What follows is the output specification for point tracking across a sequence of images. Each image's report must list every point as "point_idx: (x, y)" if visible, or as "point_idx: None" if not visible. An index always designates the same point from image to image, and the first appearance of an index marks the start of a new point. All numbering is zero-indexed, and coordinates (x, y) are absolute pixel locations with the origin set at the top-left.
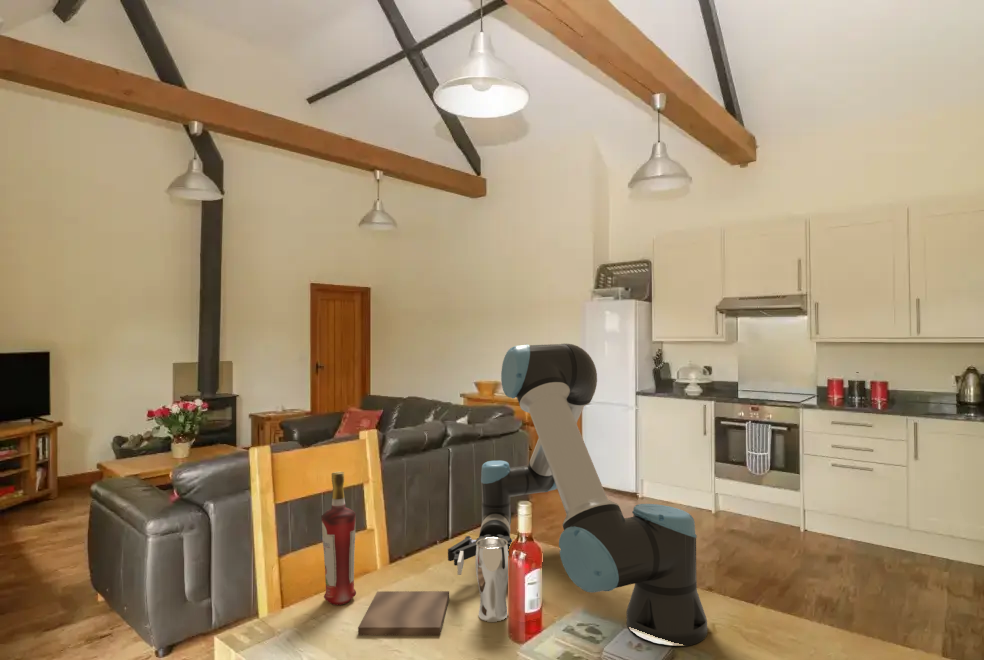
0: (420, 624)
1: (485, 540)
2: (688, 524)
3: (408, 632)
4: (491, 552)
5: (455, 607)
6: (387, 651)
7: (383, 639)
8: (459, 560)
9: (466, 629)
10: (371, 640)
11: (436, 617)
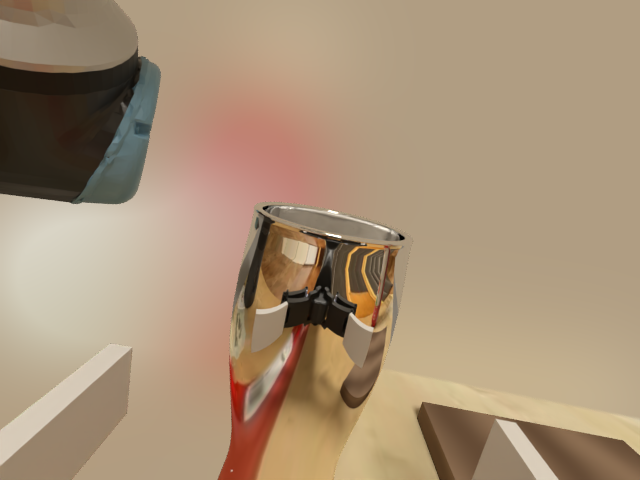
0: (480, 423)
1: (375, 254)
2: None
3: None
4: (328, 225)
5: None
6: (491, 390)
7: None
8: (520, 440)
9: (358, 430)
10: None
11: (459, 450)
